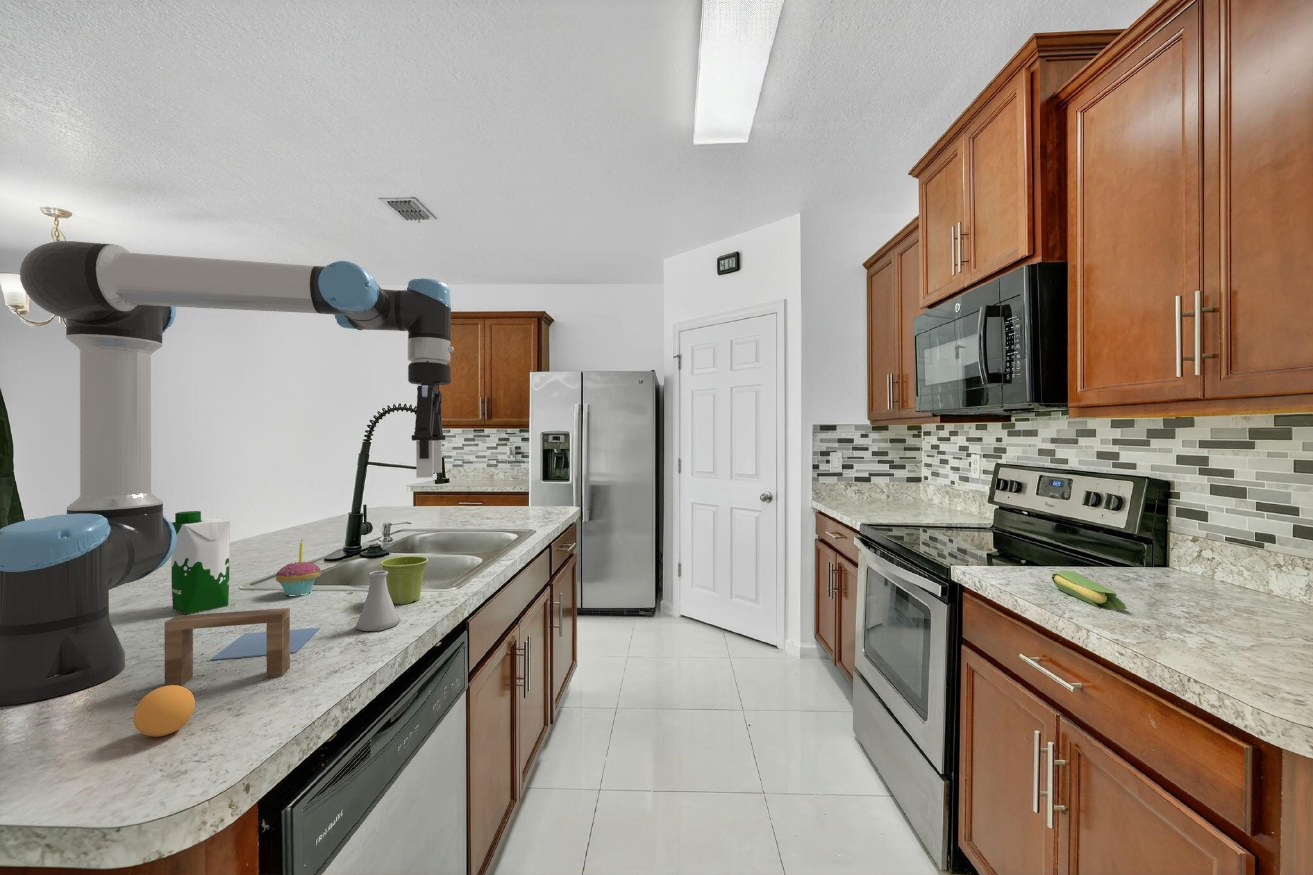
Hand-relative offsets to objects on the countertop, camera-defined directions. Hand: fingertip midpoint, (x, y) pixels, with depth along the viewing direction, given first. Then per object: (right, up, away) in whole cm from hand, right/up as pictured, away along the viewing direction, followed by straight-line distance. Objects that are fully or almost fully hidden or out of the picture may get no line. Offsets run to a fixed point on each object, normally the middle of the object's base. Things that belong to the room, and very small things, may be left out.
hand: (430, 475), depth 106 cm
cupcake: (-38, -28, +20) cm, 51 cm away
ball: (-15, -25, -40) cm, 49 cm away
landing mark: (-23, -28, -11) cm, 38 cm away
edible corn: (+135, -28, +14) cm, 139 cm away
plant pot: (-11, -28, +14) cm, 34 cm away
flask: (-9, -28, -2) cm, 30 cm away
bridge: (-20, -28, -24) cm, 42 cm away
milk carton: (-51, -28, +10) cm, 59 cm away
